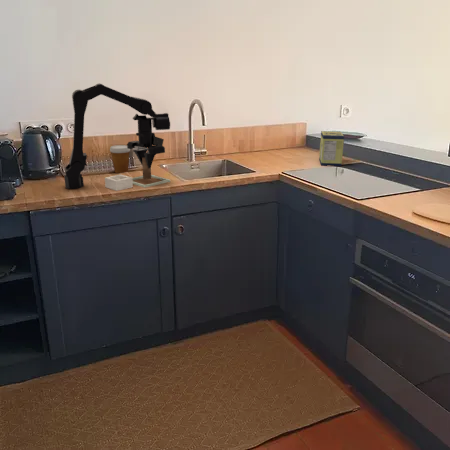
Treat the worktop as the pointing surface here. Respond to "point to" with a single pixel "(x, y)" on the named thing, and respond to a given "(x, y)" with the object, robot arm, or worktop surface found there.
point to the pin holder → (118, 182)
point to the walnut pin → (146, 170)
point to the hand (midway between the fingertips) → (146, 167)
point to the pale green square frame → (151, 183)
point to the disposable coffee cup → (120, 158)
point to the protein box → (331, 148)
